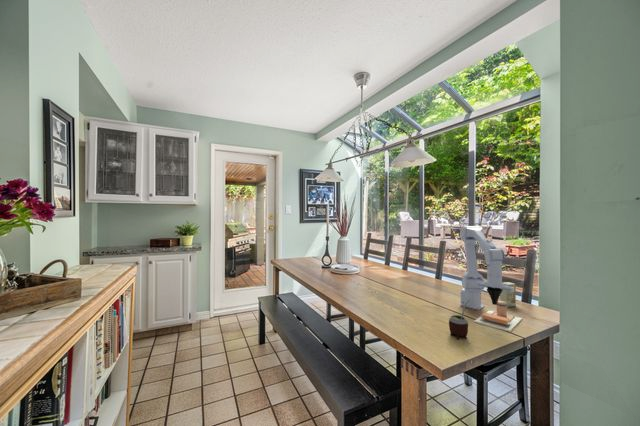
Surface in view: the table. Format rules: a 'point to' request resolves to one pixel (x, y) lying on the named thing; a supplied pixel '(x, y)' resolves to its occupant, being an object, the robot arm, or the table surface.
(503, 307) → the cylinder
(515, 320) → the picture board
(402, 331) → the table surface
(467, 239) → the robot arm
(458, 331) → the mate gourd
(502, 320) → the button
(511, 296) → the skincare box
